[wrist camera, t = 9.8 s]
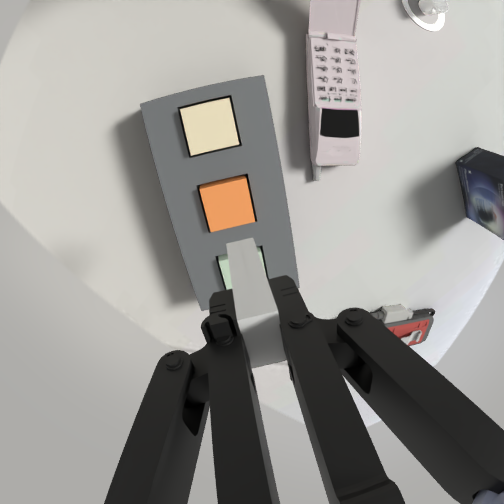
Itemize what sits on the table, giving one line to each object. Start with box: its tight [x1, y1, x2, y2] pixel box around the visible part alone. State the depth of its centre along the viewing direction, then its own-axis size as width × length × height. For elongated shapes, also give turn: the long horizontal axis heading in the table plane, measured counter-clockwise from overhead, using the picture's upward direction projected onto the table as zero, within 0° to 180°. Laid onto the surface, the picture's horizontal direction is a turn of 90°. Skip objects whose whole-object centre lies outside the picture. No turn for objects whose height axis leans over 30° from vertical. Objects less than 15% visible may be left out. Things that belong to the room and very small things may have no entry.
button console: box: [140, 75, 300, 311], centre depth 32 cm, size 24×12×4 cm, turn 12°
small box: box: [456, 147, 504, 240], centre depth 33 cm, size 11×6×10 cm, turn 32°
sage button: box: [218, 246, 266, 290], centre depth 35 cm, size 5×5×4 cm
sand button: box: [180, 98, 239, 156], centre depth 28 cm, size 5×5×4 cm
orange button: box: [200, 174, 255, 232], centre depth 32 cm, size 5×5×4 cm
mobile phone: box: [306, 0, 362, 181], centre depth 27 cm, size 6×6×25 cm
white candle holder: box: [402, 0, 448, 31], centre depth 23 cm, size 9×8×4 cm
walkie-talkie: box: [370, 304, 435, 346], centre depth 45 cm, size 9×4×20 cm
